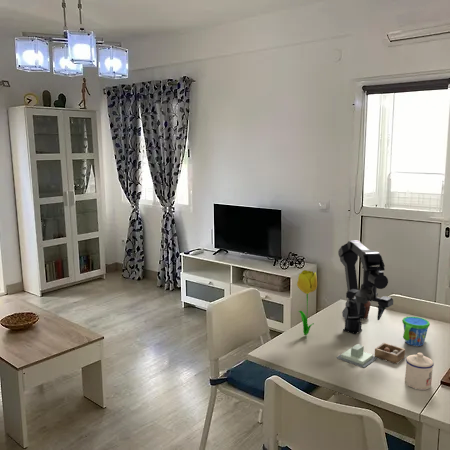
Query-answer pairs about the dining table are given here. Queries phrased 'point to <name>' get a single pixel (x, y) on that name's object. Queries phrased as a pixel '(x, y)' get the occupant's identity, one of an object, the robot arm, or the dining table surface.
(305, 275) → the flower
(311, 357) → the dining table surface
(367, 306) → the muffin
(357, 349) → the lid
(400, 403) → the dining table surface
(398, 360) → the crate
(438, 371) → the dining table surface
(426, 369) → the teacup with lid
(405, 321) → the snack cup
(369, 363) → the mat
